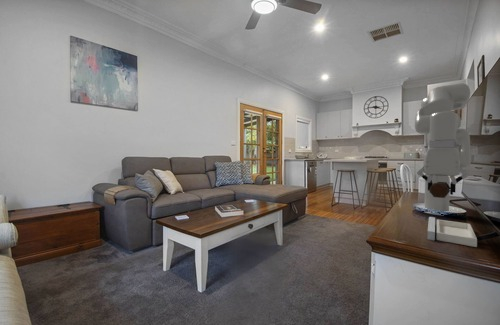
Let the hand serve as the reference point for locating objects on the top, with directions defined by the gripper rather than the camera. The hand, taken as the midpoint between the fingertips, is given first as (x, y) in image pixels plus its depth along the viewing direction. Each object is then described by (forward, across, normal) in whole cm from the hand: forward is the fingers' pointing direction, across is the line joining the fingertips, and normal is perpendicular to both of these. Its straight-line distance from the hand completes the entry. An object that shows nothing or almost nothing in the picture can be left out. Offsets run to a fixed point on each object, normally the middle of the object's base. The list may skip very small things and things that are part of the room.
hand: (441, 192), depth 85 cm
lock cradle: (+15, -4, 0) cm, 16 cm away
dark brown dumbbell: (+1, 0, 0) cm, 1 cm away
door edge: (+15, +3, 0) cm, 15 cm away
